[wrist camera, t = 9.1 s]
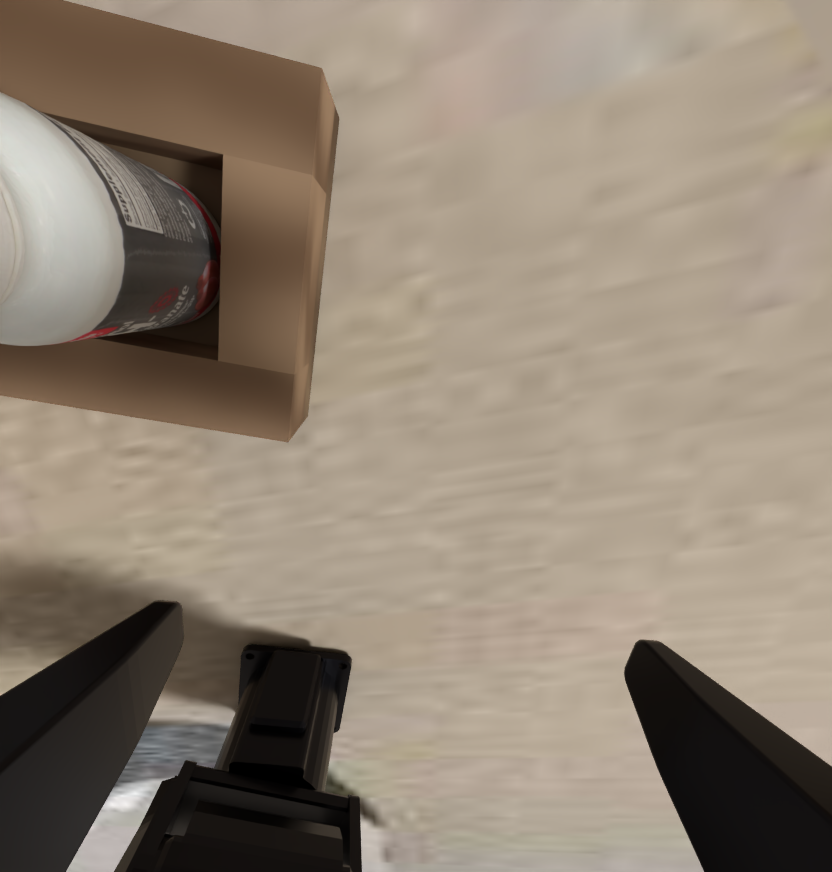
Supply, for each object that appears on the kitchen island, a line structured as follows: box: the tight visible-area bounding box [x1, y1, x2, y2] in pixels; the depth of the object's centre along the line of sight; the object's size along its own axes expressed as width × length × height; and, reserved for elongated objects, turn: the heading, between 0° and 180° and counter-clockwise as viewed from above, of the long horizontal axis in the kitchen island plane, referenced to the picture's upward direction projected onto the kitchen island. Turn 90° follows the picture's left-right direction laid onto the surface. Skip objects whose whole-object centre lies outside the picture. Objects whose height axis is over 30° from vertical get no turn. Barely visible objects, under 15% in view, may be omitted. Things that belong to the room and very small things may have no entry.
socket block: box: [0, 0, 339, 442], centre depth 14 cm, size 12×12×4 cm
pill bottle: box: [0, 92, 221, 346], centre depth 11 cm, size 5×5×10 cm
